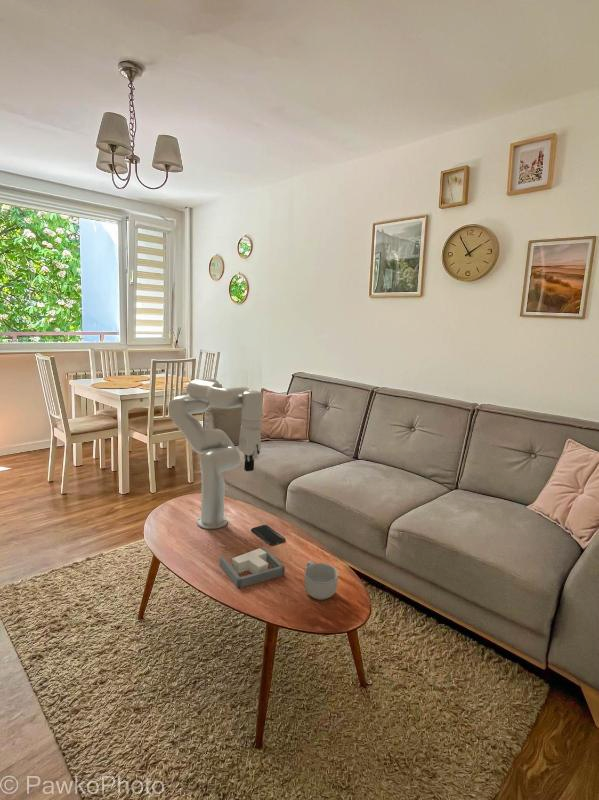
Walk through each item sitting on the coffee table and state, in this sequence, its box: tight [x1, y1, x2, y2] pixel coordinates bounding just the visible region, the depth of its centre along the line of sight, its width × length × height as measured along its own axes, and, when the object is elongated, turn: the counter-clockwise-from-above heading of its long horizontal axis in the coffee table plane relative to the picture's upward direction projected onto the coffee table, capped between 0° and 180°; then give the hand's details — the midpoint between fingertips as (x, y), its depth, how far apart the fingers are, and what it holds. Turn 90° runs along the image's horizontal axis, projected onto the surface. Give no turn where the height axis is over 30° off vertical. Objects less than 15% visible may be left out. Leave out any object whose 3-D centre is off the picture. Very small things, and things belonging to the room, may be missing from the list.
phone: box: [250, 524, 286, 546], centre depth 179 cm, size 8×1×15 cm
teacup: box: [304, 560, 339, 601], centre depth 144 cm, size 14×11×8 cm
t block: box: [231, 547, 269, 575], centre depth 154 cm, size 10×12×4 cm
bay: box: [219, 546, 286, 589], centre depth 154 cm, size 15×17×3 cm
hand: (248, 470), depth 169 cm, fingers closed
